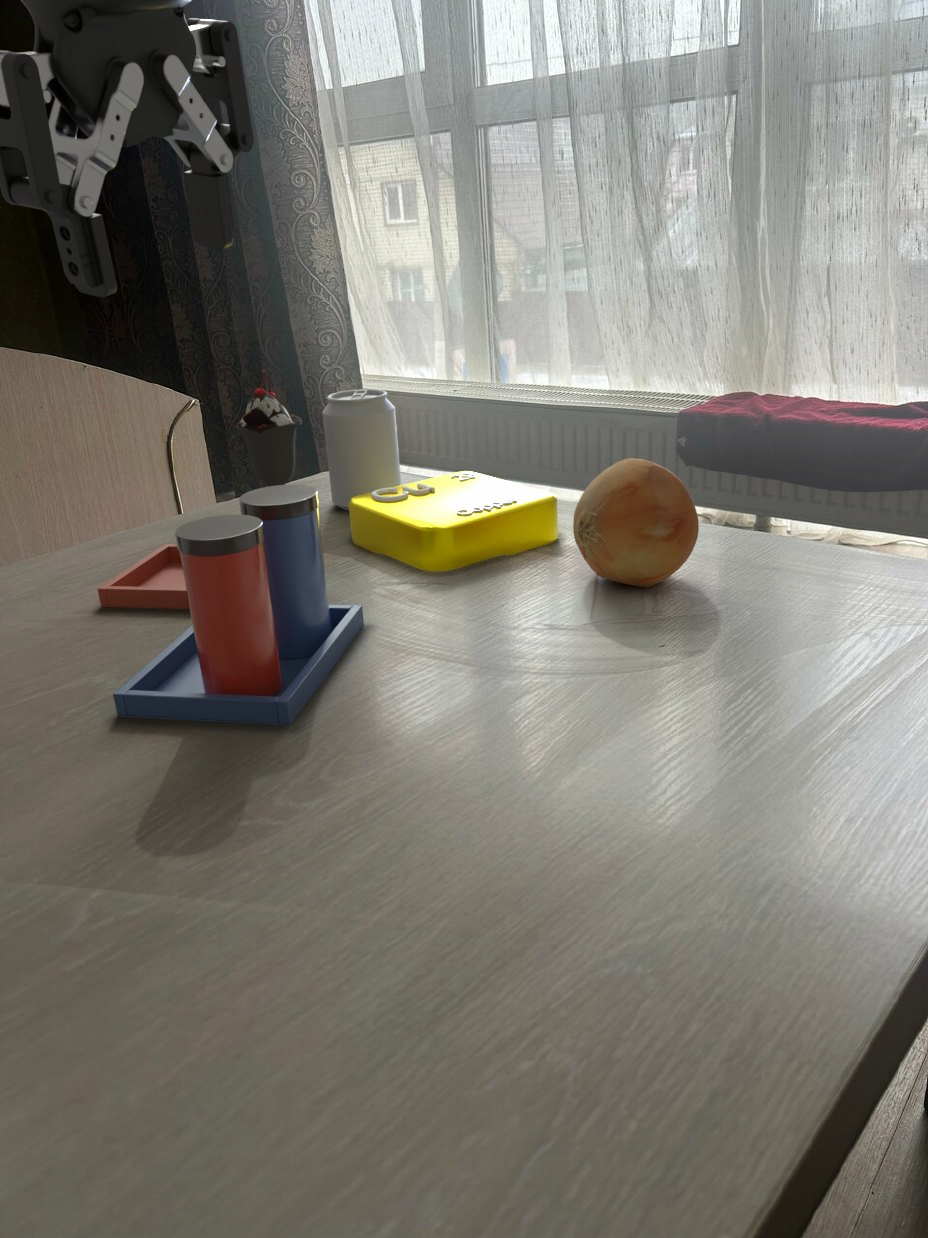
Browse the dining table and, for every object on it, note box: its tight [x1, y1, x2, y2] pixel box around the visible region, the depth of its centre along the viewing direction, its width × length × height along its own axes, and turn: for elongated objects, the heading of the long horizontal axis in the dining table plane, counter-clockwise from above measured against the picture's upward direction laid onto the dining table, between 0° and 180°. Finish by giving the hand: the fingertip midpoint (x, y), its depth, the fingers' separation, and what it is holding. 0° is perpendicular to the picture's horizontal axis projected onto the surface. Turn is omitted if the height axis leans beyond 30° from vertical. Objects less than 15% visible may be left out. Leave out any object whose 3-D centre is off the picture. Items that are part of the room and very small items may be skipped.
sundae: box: [234, 369, 303, 487], centre depth 98 cm, size 7×7×15 cm
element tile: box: [348, 470, 559, 573], centre depth 90 cm, size 15×15×5 cm
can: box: [321, 388, 402, 512], centre depth 102 cm, size 8×8×12 cm
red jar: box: [174, 514, 283, 697], centre depth 60 cm, size 5×5×11 cm
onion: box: [572, 457, 700, 588], centre depth 76 cm, size 10×10×10 cm
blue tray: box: [112, 604, 365, 726], centre depth 66 cm, size 11×15×2 cm
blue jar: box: [238, 484, 332, 659], centre depth 67 cm, size 5×5×11 cm
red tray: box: [97, 543, 190, 610], centre depth 82 cm, size 12×11×2 cm
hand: (159, 268), depth 50 cm, fingers open, 8 cm apart
